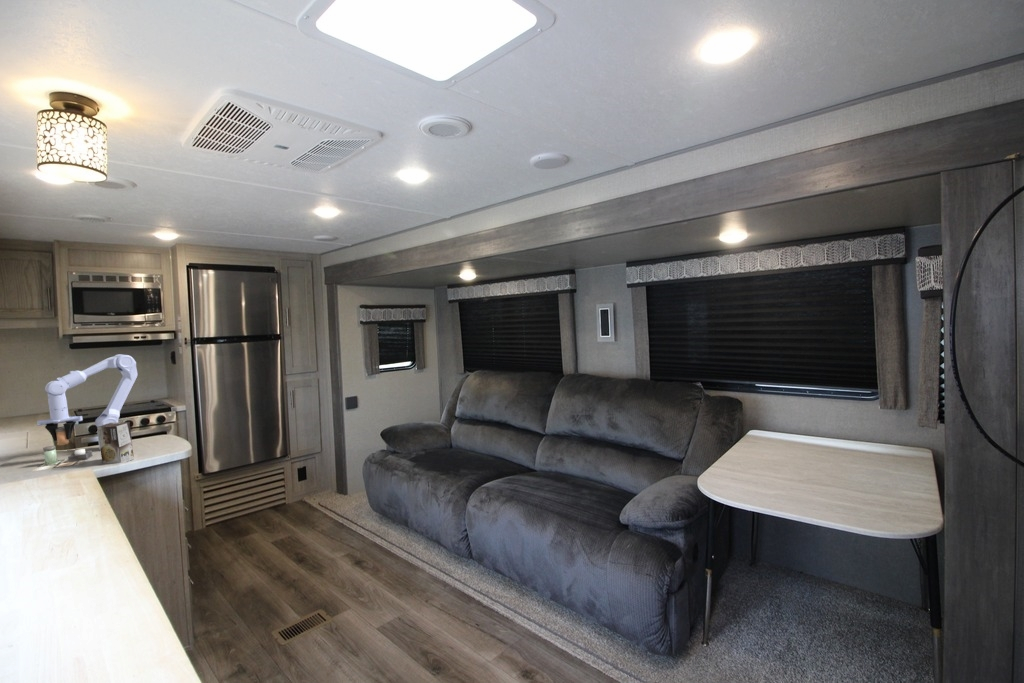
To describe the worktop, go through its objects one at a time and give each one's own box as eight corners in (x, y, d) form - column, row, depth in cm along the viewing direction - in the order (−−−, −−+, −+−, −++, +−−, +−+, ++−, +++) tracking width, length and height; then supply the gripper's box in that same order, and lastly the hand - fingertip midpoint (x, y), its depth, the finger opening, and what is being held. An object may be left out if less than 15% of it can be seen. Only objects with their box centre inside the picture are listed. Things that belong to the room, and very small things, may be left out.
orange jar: (70, 442, 208) (68, 426, 208) (66, 444, 205) (64, 428, 204) (59, 443, 207) (57, 427, 206) (55, 445, 204) (53, 429, 203)
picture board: (92, 457, 208) (91, 450, 208) (79, 466, 196) (78, 459, 196) (45, 463, 202) (44, 456, 202) (28, 473, 190) (27, 466, 190)
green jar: (59, 461, 202) (57, 445, 201) (55, 463, 199) (52, 447, 198) (47, 462, 200) (45, 446, 200) (43, 465, 197) (41, 449, 196)
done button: (87, 454, 206) (86, 448, 206) (83, 457, 203) (83, 450, 203) (77, 456, 205) (76, 449, 205) (73, 458, 202) (72, 451, 202)
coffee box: (135, 458, 204) (130, 421, 202) (121, 464, 197) (116, 426, 196) (115, 459, 204) (110, 422, 203) (101, 464, 198) (96, 426, 197)
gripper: (31, 412, 198) (35, 444, 199) (75, 408, 204) (79, 439, 205) (40, 409, 205) (44, 440, 206) (83, 405, 210) (86, 435, 211)
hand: (62, 439), depth 206 cm, fingers closed on orange jar, 4 cm apart
